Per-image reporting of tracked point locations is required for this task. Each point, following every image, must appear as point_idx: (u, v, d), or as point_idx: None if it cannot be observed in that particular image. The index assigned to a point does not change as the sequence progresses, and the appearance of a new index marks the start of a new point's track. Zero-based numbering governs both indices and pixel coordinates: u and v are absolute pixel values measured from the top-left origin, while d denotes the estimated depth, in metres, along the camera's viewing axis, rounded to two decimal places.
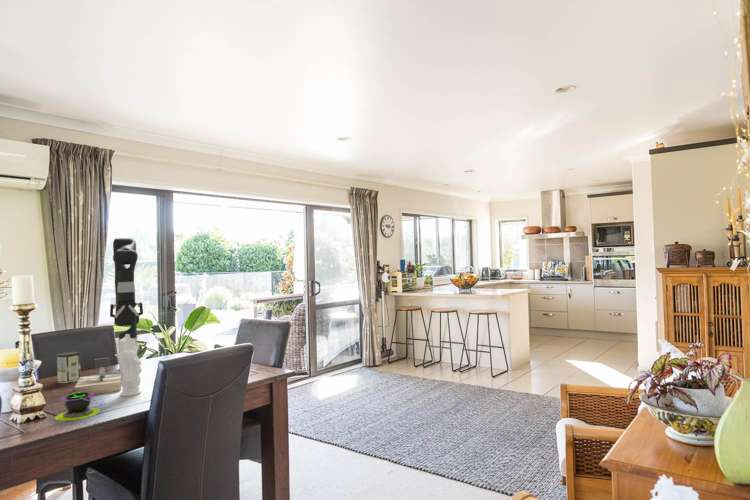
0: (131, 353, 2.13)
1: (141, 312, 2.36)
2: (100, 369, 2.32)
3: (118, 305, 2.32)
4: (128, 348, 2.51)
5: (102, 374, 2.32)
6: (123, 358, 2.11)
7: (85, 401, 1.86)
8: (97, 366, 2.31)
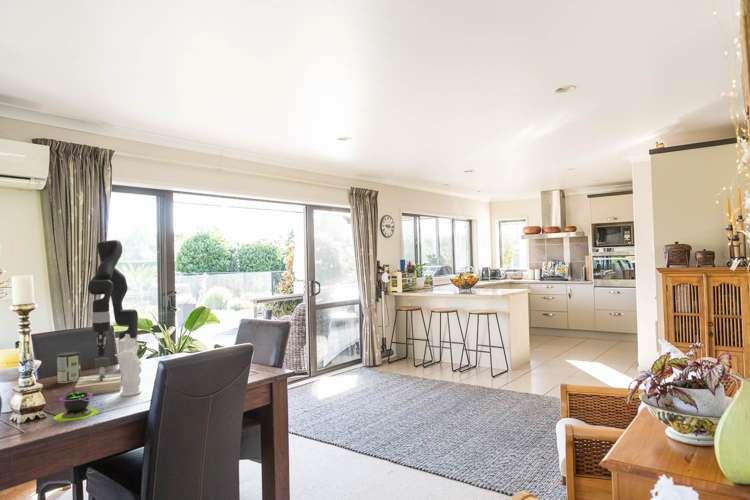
0: (131, 353, 2.13)
1: None
2: (100, 369, 2.32)
3: None
4: (128, 348, 2.51)
5: (102, 374, 2.32)
6: (123, 358, 2.11)
7: (84, 401, 1.86)
8: (97, 366, 2.31)
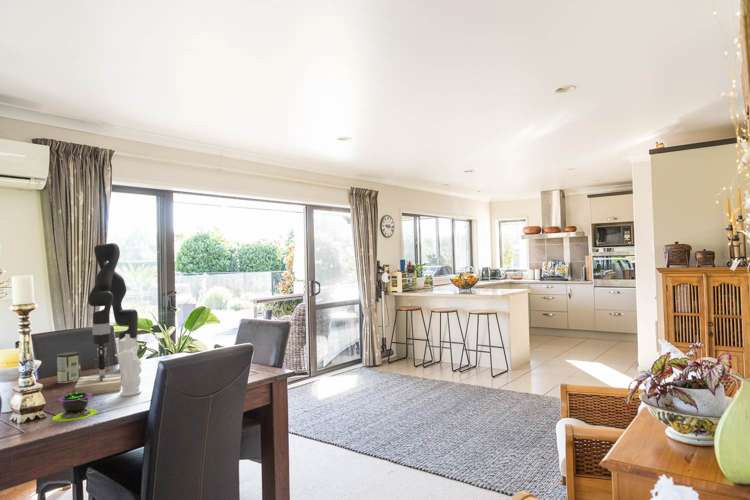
0: (131, 353, 2.13)
1: (105, 355, 2.37)
2: None
3: (103, 347, 2.31)
4: (128, 348, 2.51)
5: (102, 374, 2.32)
6: (123, 358, 2.11)
7: (82, 402, 1.86)
8: (97, 366, 2.31)
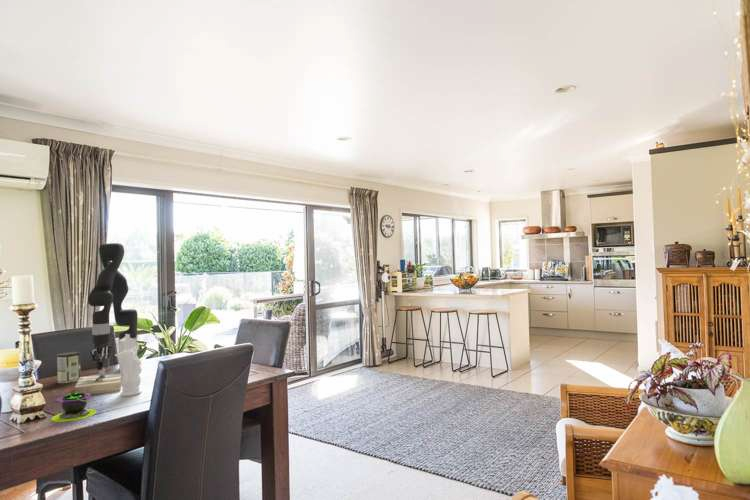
0: (131, 353, 2.13)
1: (108, 355, 2.37)
2: None
3: (98, 348, 2.30)
4: (128, 348, 2.51)
5: (101, 374, 2.32)
6: (123, 358, 2.11)
7: (82, 402, 1.85)
8: None
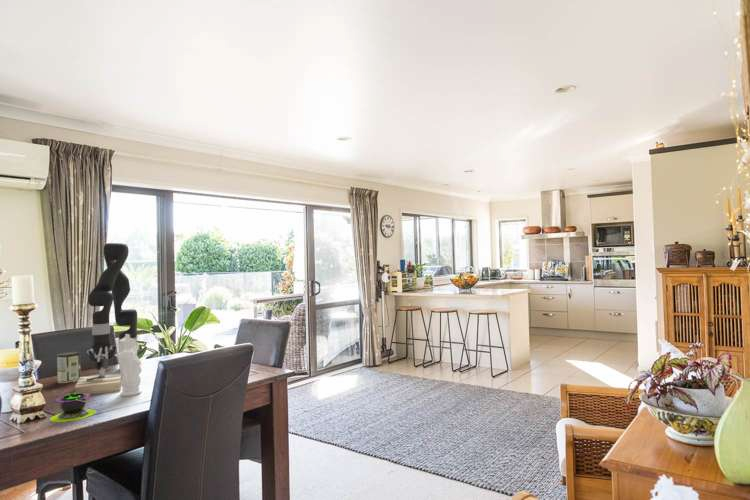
0: (131, 353, 2.13)
1: (110, 356, 2.36)
2: None
3: (95, 348, 2.30)
4: (128, 348, 2.51)
5: (100, 374, 2.32)
6: (123, 358, 2.11)
7: (80, 402, 1.85)
8: None
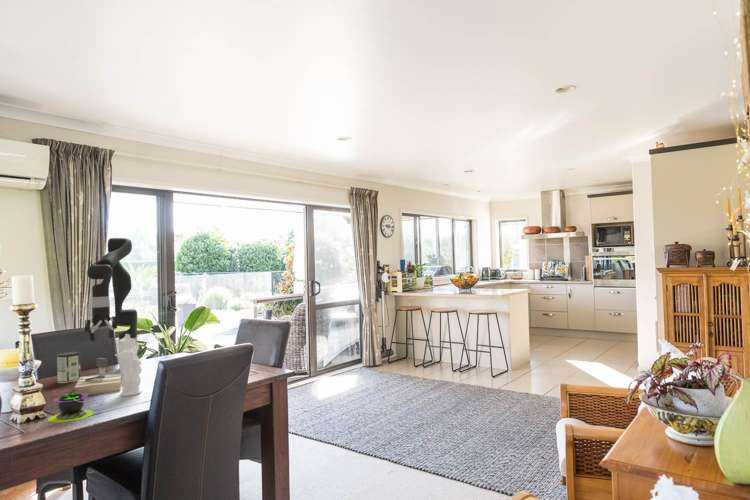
0: (131, 353, 2.13)
1: (115, 326, 2.38)
2: (99, 369, 2.32)
3: (94, 320, 2.30)
4: (128, 348, 2.51)
5: (100, 374, 2.32)
6: (123, 358, 2.11)
7: (78, 403, 1.85)
8: (97, 365, 2.33)
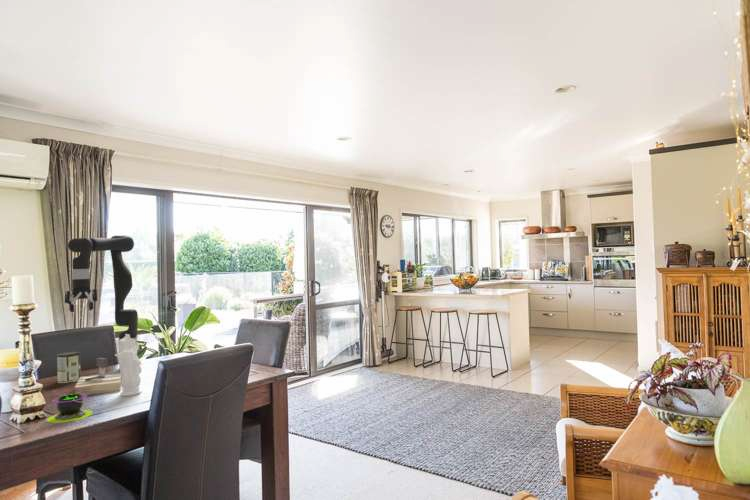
0: (131, 353, 2.13)
1: (96, 298, 2.43)
2: (99, 369, 2.32)
3: (74, 292, 2.35)
4: (128, 348, 2.51)
5: (100, 374, 2.32)
6: (123, 358, 2.11)
7: (77, 403, 1.84)
8: (98, 365, 2.33)
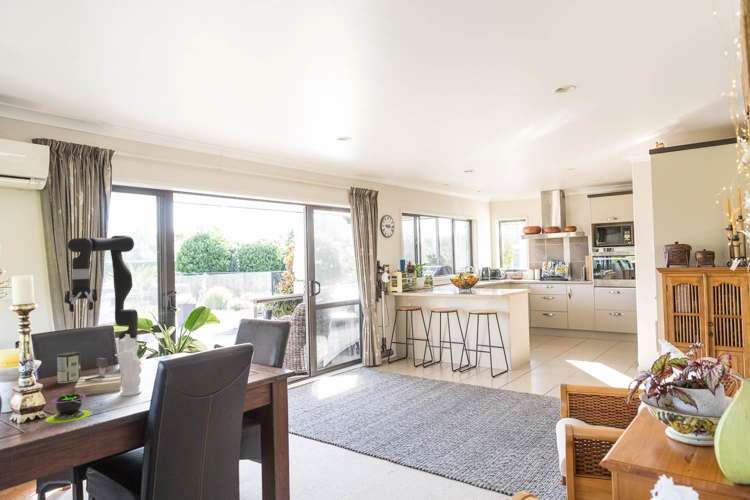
0: (131, 353, 2.13)
1: (95, 298, 2.43)
2: (99, 369, 2.32)
3: (74, 292, 2.35)
4: (128, 348, 2.51)
5: (100, 374, 2.32)
6: (123, 358, 2.11)
7: (76, 403, 1.84)
8: (98, 365, 2.33)
